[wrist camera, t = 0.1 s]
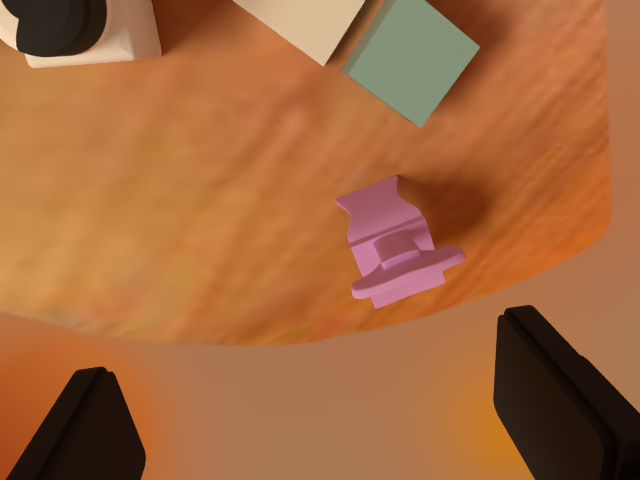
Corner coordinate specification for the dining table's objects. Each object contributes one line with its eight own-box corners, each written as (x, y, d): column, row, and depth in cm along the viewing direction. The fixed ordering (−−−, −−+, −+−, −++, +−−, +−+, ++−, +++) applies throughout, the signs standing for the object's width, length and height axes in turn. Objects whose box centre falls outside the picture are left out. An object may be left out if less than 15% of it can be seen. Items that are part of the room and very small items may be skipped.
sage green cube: (390, -8, 35) (406, -15, 31) (456, 46, 37) (480, 47, 33) (340, 71, 37) (348, 75, 33) (404, 118, 39) (420, 128, 35)
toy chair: (355, 278, 46) (385, 379, 32) (324, 203, 42) (344, 281, 28) (432, 249, 45) (497, 340, 31) (407, 170, 41) (468, 234, 28)
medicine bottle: (143, -47, 33) (73, -92, 22) (164, 57, 36) (111, 63, 25) (45, -40, 33) (-75, -82, 22) (74, 64, 36) (-20, 73, 25)
